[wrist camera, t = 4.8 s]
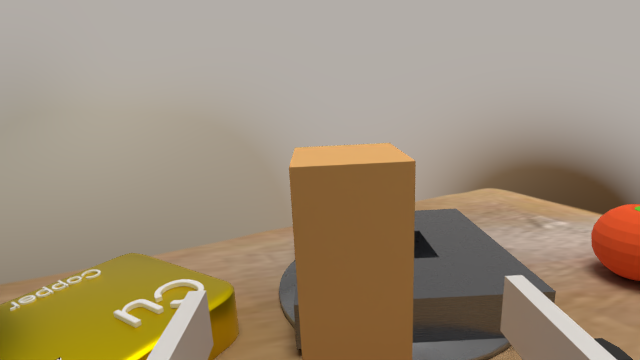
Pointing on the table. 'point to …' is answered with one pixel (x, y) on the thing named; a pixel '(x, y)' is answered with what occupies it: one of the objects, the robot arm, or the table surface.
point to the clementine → (619, 240)
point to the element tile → (111, 312)
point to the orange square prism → (354, 250)
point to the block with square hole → (448, 289)
